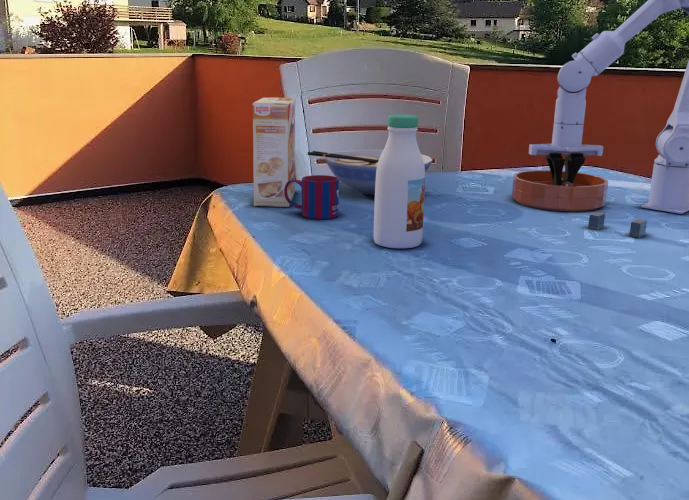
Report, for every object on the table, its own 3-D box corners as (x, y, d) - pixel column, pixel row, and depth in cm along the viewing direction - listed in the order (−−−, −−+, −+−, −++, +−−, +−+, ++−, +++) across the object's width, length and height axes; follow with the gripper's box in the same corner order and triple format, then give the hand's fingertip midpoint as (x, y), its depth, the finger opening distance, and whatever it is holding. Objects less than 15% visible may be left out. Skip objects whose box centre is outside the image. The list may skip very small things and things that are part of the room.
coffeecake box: (289, 207, 135) (289, 103, 129) (252, 206, 135) (250, 102, 130) (296, 191, 149) (296, 97, 144) (262, 190, 149) (261, 96, 144)
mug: (332, 220, 125) (333, 182, 124) (279, 216, 128) (279, 179, 126) (342, 212, 132) (343, 176, 130) (291, 208, 134) (291, 172, 132)
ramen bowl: (453, 190, 154) (455, 152, 152) (403, 209, 135) (405, 166, 133) (355, 177, 167) (356, 142, 164) (297, 193, 148) (297, 154, 146)
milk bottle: (389, 252, 107) (394, 118, 102) (364, 239, 114) (368, 113, 108) (431, 246, 111) (439, 117, 105) (405, 234, 117) (410, 112, 112)
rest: (587, 228, 124) (589, 214, 123) (594, 225, 126) (596, 211, 125) (638, 238, 118) (640, 223, 117) (645, 234, 120) (647, 220, 120)
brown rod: (574, 191, 140) (575, 183, 139) (566, 191, 140) (567, 183, 139) (557, 182, 149) (558, 174, 149) (550, 182, 149) (550, 174, 149)
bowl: (537, 189, 157) (539, 167, 155) (619, 202, 145) (622, 178, 144) (494, 201, 144) (496, 177, 142) (581, 217, 132) (584, 190, 130)
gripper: (539, 125, 137) (532, 194, 141) (612, 126, 138) (604, 194, 141) (528, 121, 144) (522, 187, 147) (598, 122, 144) (590, 187, 148)
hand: (561, 190), depth 145 cm, fingers closed on brown rod, 1 cm apart
